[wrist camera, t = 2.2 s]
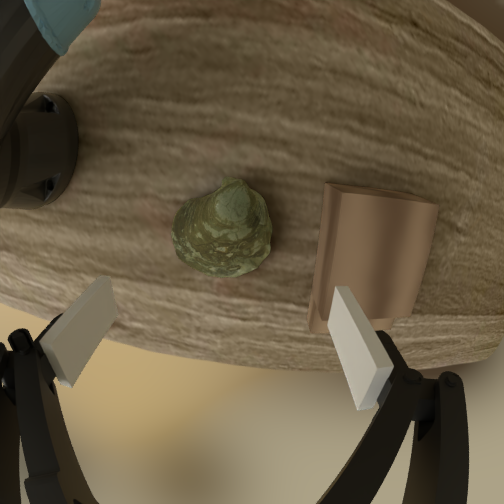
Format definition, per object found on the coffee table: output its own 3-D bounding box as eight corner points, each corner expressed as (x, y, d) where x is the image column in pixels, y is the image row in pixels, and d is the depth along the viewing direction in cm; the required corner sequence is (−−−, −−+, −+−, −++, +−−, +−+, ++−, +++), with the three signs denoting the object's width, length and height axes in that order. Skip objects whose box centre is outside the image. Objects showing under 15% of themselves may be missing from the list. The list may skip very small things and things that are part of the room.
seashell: (167, 273, 30) (166, 239, 21) (174, 214, 33) (179, 165, 24) (255, 281, 33) (289, 253, 24) (255, 225, 35) (285, 182, 26)
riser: (306, 318, 34) (315, 349, 29) (324, 182, 28) (342, 192, 22) (382, 316, 34) (399, 343, 29) (410, 193, 28) (439, 205, 23)
